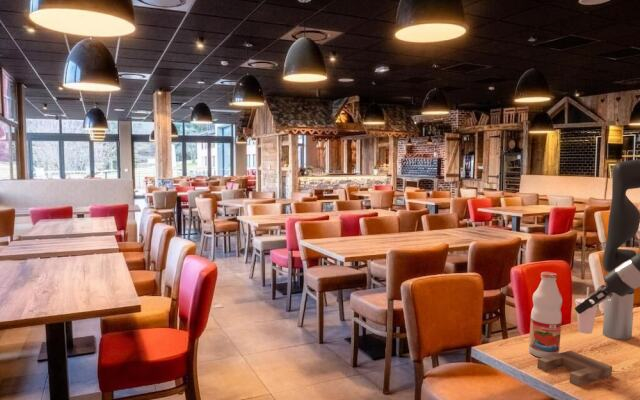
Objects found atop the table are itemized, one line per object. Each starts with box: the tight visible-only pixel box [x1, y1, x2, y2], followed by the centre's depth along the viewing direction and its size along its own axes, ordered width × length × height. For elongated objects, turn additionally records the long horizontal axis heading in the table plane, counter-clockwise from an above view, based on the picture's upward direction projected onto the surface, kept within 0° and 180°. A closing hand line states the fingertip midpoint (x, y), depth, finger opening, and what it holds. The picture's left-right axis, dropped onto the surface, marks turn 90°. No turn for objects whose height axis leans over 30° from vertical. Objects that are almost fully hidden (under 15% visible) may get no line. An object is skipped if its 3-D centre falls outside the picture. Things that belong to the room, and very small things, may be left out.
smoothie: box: [574, 286, 600, 335], centre depth 151 cm, size 6×6×14 cm
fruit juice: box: [528, 271, 563, 358], centre depth 166 cm, size 9×9×28 cm
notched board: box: [536, 350, 613, 387], centre depth 153 cm, size 16×14×3 cm
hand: (580, 308), depth 152 cm, fingers closed on smoothie, 6 cm apart
